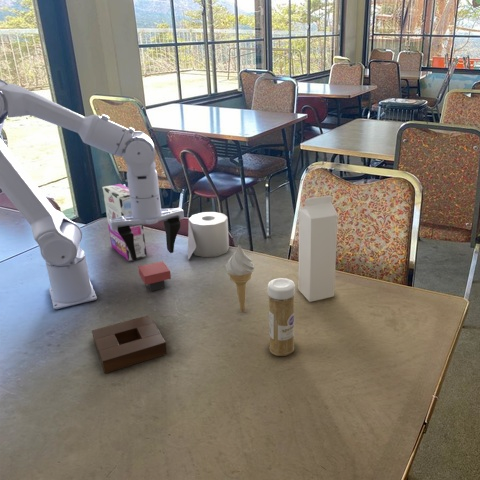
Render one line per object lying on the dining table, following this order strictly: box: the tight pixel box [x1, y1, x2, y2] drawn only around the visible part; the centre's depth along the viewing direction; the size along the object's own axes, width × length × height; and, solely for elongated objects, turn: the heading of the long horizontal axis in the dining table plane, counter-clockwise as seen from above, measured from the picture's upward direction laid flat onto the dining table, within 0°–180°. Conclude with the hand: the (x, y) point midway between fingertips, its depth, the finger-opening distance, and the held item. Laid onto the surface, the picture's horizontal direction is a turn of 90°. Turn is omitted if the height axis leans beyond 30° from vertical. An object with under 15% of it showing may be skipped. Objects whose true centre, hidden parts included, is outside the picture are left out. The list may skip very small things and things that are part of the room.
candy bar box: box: [101, 183, 148, 262], centre depth 118 cm, size 11×5×16 cm, turn 43°
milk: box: [297, 195, 339, 303], centre depth 100 cm, size 6×6×22 cm
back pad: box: [137, 260, 172, 292], centre depth 105 cm, size 5×5×4 cm
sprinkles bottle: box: [267, 277, 296, 357], centre depth 83 cm, size 5×5×14 cm
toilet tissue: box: [187, 211, 230, 261], centre depth 120 cm, size 9×13×9 cm
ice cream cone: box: [224, 244, 255, 313], centre depth 94 cm, size 6×6×15 cm
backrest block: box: [91, 314, 168, 374], centre depth 85 cm, size 10×10×2 cm
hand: (152, 255), depth 102 cm, fingers open, 7 cm apart
